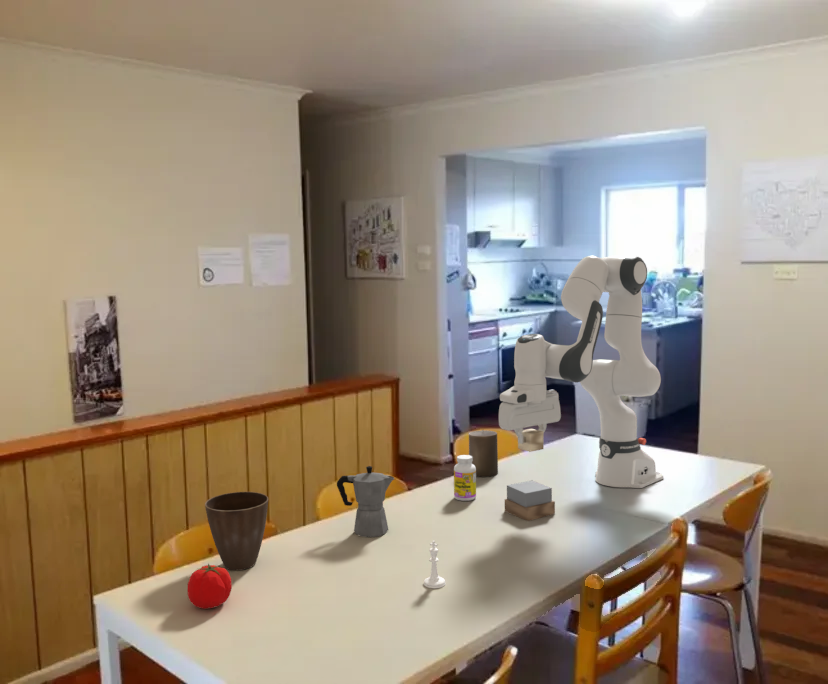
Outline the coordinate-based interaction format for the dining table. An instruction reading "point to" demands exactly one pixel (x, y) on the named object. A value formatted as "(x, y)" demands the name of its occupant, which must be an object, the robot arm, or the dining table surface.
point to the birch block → (532, 440)
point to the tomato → (209, 586)
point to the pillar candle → (484, 452)
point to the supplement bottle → (464, 479)
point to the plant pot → (237, 527)
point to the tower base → (529, 510)
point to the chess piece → (434, 570)
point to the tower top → (529, 493)
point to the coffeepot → (368, 501)
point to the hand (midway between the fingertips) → (530, 441)
